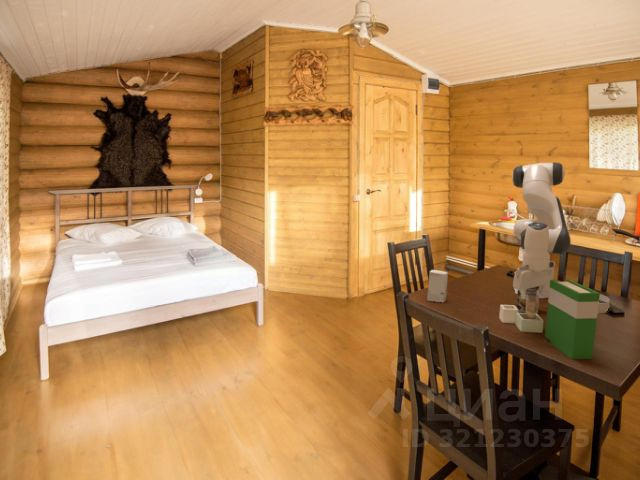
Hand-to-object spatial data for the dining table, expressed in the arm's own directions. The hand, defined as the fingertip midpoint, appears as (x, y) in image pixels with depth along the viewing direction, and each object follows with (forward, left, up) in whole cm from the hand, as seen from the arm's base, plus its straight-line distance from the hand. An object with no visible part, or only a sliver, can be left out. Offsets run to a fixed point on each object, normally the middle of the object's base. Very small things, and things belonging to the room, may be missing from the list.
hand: (531, 296), depth 179 cm
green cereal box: (+16, +9, -15) cm, 23 cm away
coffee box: (-23, +6, -15) cm, 28 cm away
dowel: (0, 0, -14) cm, 14 cm away
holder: (0, 0, -14) cm, 14 cm away
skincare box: (-35, -33, -15) cm, 50 cm away
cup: (-8, -6, -14) cm, 17 cm away
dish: (-37, +35, -15) cm, 53 cm away
